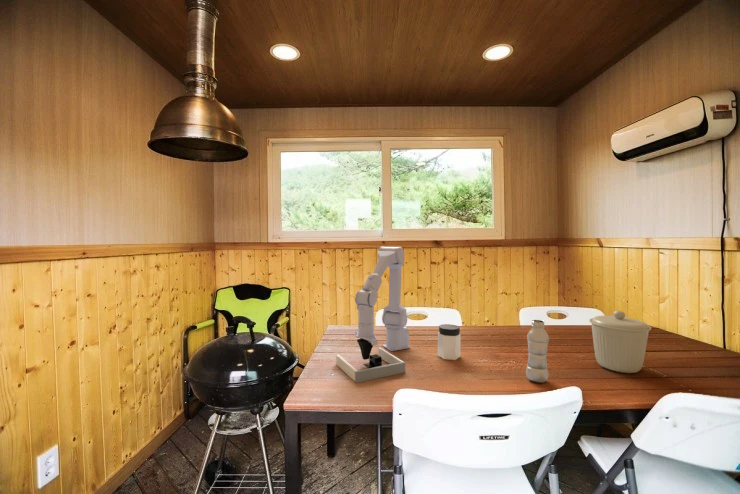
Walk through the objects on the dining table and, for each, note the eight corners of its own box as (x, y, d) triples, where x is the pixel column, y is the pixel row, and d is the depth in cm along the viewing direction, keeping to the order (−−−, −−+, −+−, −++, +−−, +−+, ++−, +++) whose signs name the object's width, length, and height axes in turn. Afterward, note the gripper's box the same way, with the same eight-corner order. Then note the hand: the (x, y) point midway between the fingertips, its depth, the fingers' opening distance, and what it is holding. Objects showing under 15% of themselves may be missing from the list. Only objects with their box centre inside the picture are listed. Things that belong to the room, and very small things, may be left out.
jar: (464, 358, 129) (464, 328, 129) (446, 361, 127) (446, 330, 126) (451, 351, 138) (451, 323, 137) (434, 353, 135) (434, 324, 135)
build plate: (393, 372, 117) (393, 359, 117) (375, 377, 114) (375, 363, 114) (374, 361, 128) (374, 349, 128) (358, 364, 124) (358, 352, 124)
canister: (634, 382, 109) (635, 318, 108) (578, 363, 125) (579, 308, 124) (660, 372, 117) (661, 313, 117) (604, 356, 133) (605, 304, 133)
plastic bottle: (521, 377, 112) (522, 318, 112) (540, 376, 113) (541, 318, 113) (532, 385, 106) (533, 323, 106) (552, 384, 107) (553, 323, 106)
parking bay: (380, 356, 132) (380, 347, 132) (405, 372, 116) (405, 362, 116) (336, 364, 124) (336, 354, 123) (356, 382, 107) (356, 372, 107)
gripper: (348, 319, 127) (348, 354, 127) (364, 328, 114) (364, 367, 114) (364, 317, 130) (364, 351, 130) (382, 326, 117) (382, 363, 117)
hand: (365, 358), depth 123 cm, fingers closed
